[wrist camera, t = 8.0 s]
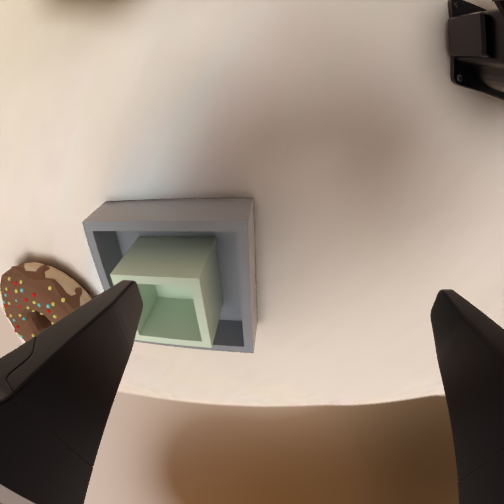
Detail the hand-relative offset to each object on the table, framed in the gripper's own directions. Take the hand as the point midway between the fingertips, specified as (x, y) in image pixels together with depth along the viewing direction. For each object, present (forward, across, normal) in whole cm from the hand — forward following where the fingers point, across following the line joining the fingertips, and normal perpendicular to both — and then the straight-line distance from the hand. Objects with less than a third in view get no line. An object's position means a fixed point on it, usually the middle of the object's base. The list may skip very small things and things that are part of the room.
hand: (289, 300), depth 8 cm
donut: (+13, +24, +14) cm, 31 cm away
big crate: (+13, +8, +8) cm, 17 cm away
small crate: (+12, +8, +8) cm, 17 cm away
